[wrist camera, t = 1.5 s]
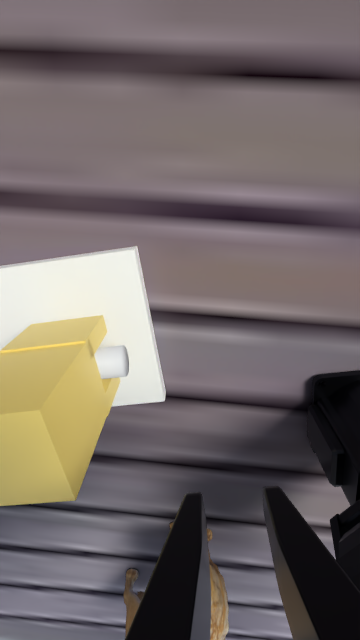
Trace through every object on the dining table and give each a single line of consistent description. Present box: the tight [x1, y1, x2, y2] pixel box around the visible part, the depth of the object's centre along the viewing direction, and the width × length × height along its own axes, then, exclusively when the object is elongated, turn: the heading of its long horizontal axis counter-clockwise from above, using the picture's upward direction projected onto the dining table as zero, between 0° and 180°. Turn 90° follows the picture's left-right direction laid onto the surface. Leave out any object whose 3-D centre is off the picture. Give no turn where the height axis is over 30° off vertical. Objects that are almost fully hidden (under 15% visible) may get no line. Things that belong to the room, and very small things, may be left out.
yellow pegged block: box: [0, 315, 121, 506], centre depth 14 cm, size 4×4×8 cm
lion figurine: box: [124, 522, 229, 640], centre depth 24 cm, size 15×5×9 cm, turn 157°
